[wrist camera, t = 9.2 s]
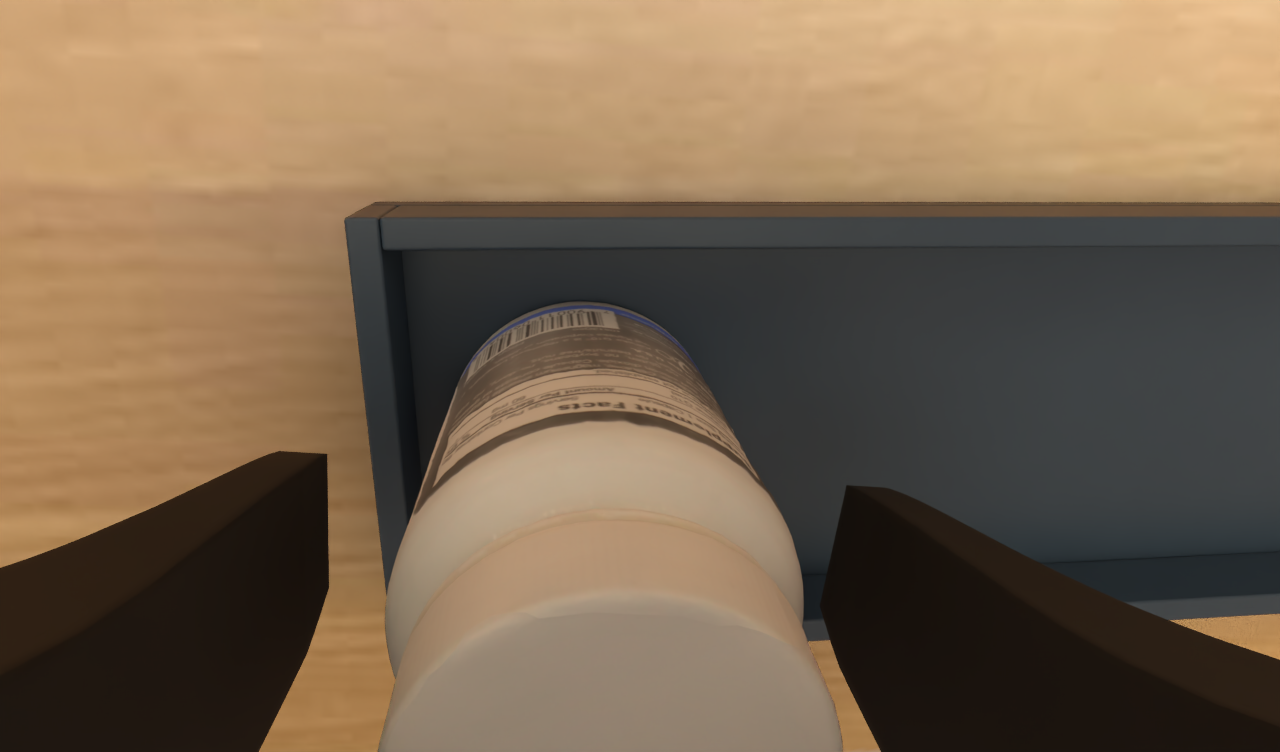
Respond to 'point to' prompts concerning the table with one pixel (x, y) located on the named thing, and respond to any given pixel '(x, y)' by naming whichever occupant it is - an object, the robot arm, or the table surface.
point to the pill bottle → (596, 561)
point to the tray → (897, 364)
